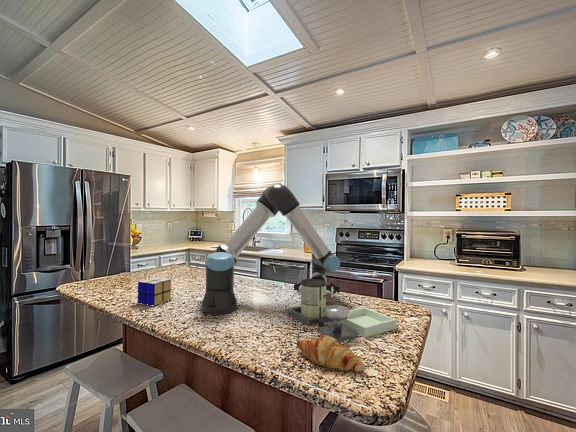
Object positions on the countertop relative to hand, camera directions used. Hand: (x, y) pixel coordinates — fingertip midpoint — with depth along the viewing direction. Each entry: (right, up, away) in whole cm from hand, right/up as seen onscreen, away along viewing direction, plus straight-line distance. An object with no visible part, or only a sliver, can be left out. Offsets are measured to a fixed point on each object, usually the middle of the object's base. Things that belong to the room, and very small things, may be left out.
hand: (315, 293), depth 119 cm
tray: (+17, -9, -12) cm, 23 cm away
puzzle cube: (-73, -8, +12) cm, 74 cm away
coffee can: (-1, -9, -4) cm, 9 cm away
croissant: (0, -9, -39) cm, 40 cm away
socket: (-1, -8, -4) cm, 9 cm away
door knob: (+4, -8, -18) cm, 21 cm away
